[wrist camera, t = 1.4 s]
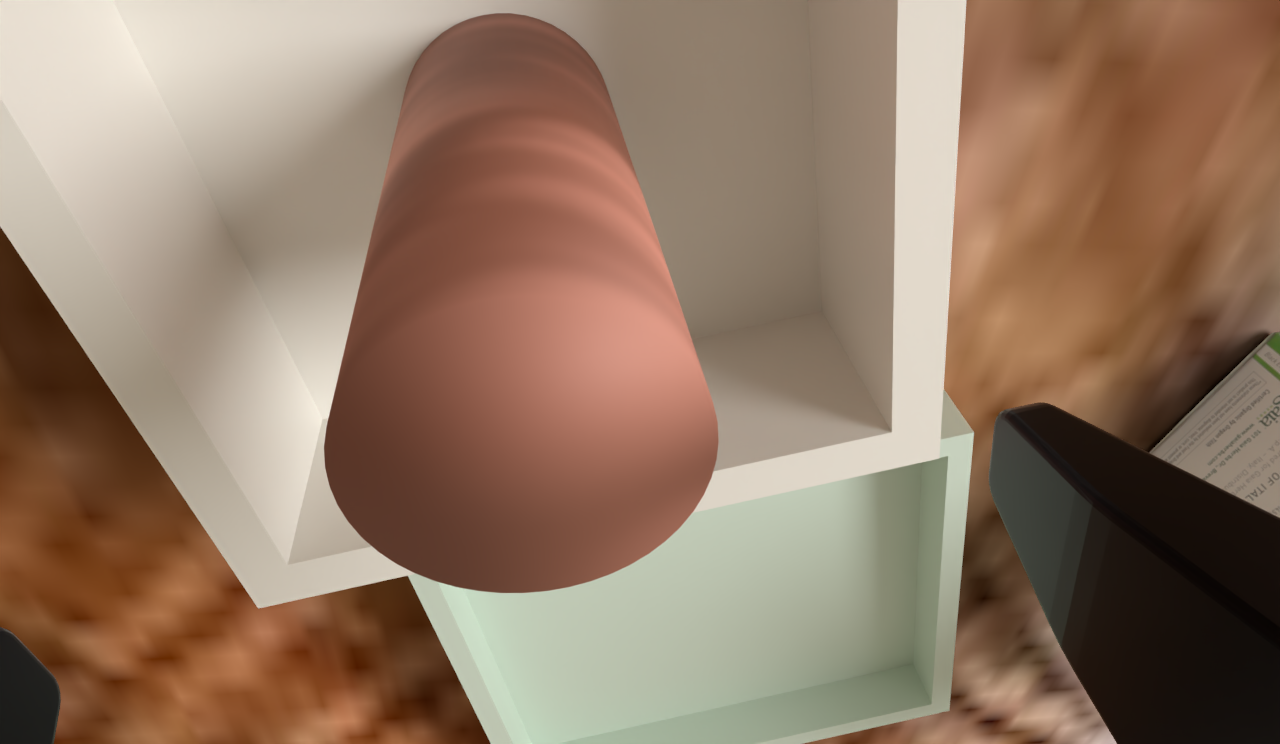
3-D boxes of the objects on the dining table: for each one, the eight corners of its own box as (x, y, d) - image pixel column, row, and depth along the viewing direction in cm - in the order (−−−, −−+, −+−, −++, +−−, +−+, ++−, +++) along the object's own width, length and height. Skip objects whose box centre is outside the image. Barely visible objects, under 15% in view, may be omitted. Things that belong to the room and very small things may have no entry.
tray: (931, 371, 23) (973, 432, 21) (918, 645, 30) (949, 710, 28) (407, 486, 23) (399, 558, 21) (519, 735, 30) (521, 806, 28)
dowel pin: (589, -8, 16) (693, 255, 8) (627, 192, 18) (735, 549, 10) (372, 38, 16) (254, 348, 8) (438, 233, 18) (400, 623, 10)
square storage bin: (843, -425, 13) (995, -494, 9) (856, 325, 22) (939, 458, 18) (-66, -241, 13) (-309, -230, 9) (301, 446, 22) (257, 608, 18)
